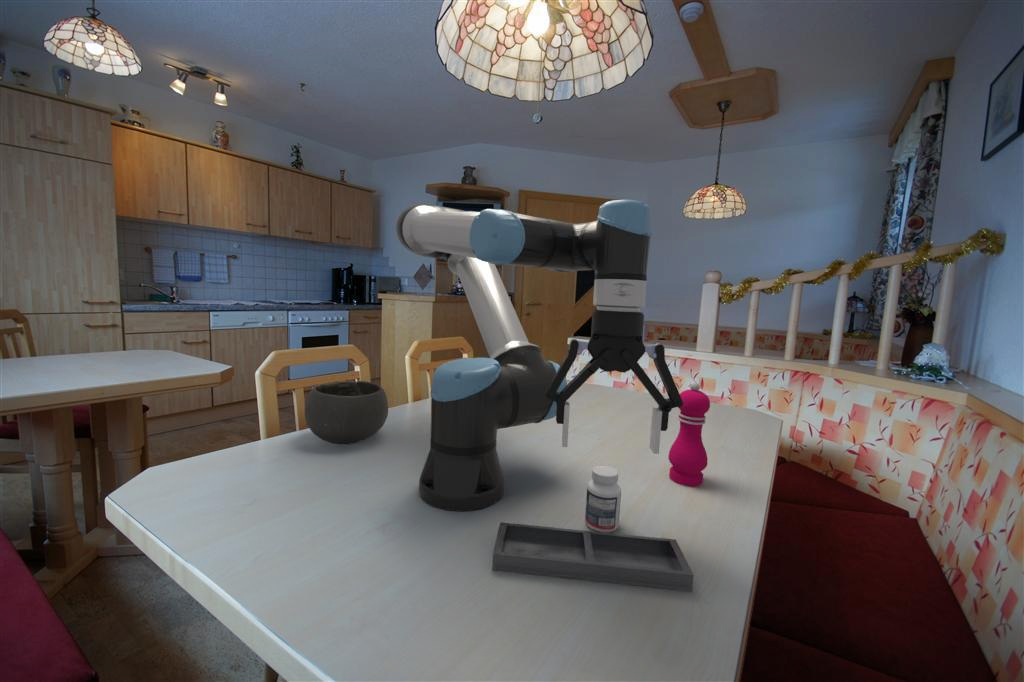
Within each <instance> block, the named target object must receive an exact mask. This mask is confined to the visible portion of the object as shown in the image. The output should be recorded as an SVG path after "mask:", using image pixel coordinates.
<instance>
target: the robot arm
mask: <svg viewBox="0 0 1024 682" xmlns="http://www.w3.org/2000/svg"><path fill="white" fill-rule="evenodd" d="M651 221H652V210H651V207H650V206H649V204H647V203H646V202H644V201H640V200H634V199H617V200H610V201H606V202H605V203H602V204H601V205H600V206H599V209H598V215H597V220H595V221H589V222H582V223H581V222H580V223H571V222H566V221H560V220H555V219H550V218H549V219H548V218H543V217H536V216H533V215H532V216H531V215H528V214H521V213H518V212H512V211H511V210H507V209H494V208H486V209H482V210H480V211H473V210H462V209H457V208H451V207H447V206H446V207H445V206H439V205H435V204H428V203H427V204H426V203H419V204H413V205H411V206H408V207H406V208H405V209H404V210H402V212H400V214H399V215H398V218H397V220H396V222H395V233H396V236H397V239H398V241H399V243H400V244H401V245H402V246H403V248H405V249H406V250H407V251H408V252H411V253H412V254H415V255H417V256H421V257H427V258H431V259H432V258H433V259H441V260H442V259H444V260H445V261H446V264H447V268H448V269H449V271H450V272H451V273H452V274H454V275H456V276H458V277H459V280H460V282H461V285H462V288H463V291H464V293H465V296H466V299H467V300H468V304H469V307H470V308H471V311H472V314H473V317H474V320H475V321H476V324H477V327H478V329H479V332H480V334H481V337H482V341H483V342H484V345H485V348H486V351H487V354H488V356H489V357H473V358H472V357H466V358H465V357H464V358H459V359H454V360H449V361H447V362H444V363H442V364H440V365H439V366H438V367H437V368H436V369H435V370H434V372H433V375H432V382H431V390H430V397H431V399H430V400H431V402H430V404H431V405H430V409H431V410H430V444H429V445H430V447H429V451H428V454H427V457H426V460H425V463H424V465H423V468H422V471H421V473H420V477H419V481H418V482H419V484H418V493H419V497H420V498H421V499H422V500H423V501H424V502H426V503H427V504H429V505H431V506H432V507H435V508H439V509H441V510H448V511H471V510H472V511H473V510H479V509H482V508H486V507H489V506H491V505H493V504H495V503H497V502H498V501H499V500H501V498H502V497H503V496H504V491H505V476H504V473H503V469H502V465H501V462H500V458H499V455H498V451H497V437H498V435H497V434H498V430H500V429H507V428H512V427H517V426H523V425H529V424H539V423H542V422H543V421H547V420H551V419H554V418H555V421H556V424H559V425H562V437H561V443H562V444H561V445H562V447H563V448H568V442H569V441H568V439H569V425H570V424H569V423H570V407H571V406H570V401H569V400H570V398H571V397H572V396H573V395H574V394H575V393H576V392H577V391H578V390H579V389H580V388H581V387H582V385H584V383H586V381H588V379H590V377H591V376H592V375H594V374H595V373H596V372H598V371H599V369H600V370H602V371H604V372H607V373H608V372H609V373H610V372H614V371H615V372H617V373H624V374H625V373H627V372H629V371H632V373H634V375H635V376H636V378H637V379H638V380H639V382H640V383H641V385H642V386H643V387H644V388H645V389H646V390H647V392H648V393H649V394H650V396H651V397H652V399H653V400H654V401H655V402H656V404H657V405H658V406H652V412H651V426H650V437H649V449H650V450H651V451H652V453H653V454H655V455H656V454H657V455H659V454H660V442H661V432H666V431H667V430H668V427H669V418H670V417H669V415H670V414H669V413H670V412H672V409H675V408H678V407H682V406H683V401H682V399H681V396H680V392H679V389H678V387H677V385H676V383H675V380H674V378H673V376H672V373H671V371H670V368H669V366H668V364H667V361H666V356H665V353H666V351H665V350H666V349H665V346H664V345H663V344H661V343H658V342H655V343H653V344H644V342H643V341H644V340H643V338H644V336H643V335H644V324H645V314H644V312H642V311H641V309H644V308H645V307H646V296H647V295H646V293H647V280H648V279H647V278H648V277H647V276H648V275H647V273H648V272H647V271H648V262H649V254H650V253H649V252H650V245H651V237H652V232H651V228H652V227H651V226H652V225H651V223H652V222H651ZM496 265H501V266H503V265H507V266H518V267H519V266H520V267H531V268H532V267H533V268H536V269H537V268H540V269H547V270H550V271H552V272H559V273H560V272H561V273H562V272H563V273H570V272H579V271H594V281H593V282H594V283H593V285H594V286H593V301H592V305H593V306H594V307H596V308H595V310H593V312H592V313H591V314H592V315H591V316H592V317H591V330H590V331H591V332H590V333H591V334H590V339H589V340H588V341H581V340H578V339H575V338H572V339H570V342H569V346H568V351H567V354H566V355H565V357H564V358H563V361H562V362H561V363H560V365H559V364H558V363H556V362H554V361H551V360H546V359H545V357H544V355H543V353H542V349H540V346H539V345H537V344H533V343H530V342H529V339H528V337H527V335H526V333H525V330H524V328H523V326H522V324H521V321H520V319H519V317H518V314H517V312H516V310H515V308H514V305H513V303H512V301H511V299H510V297H509V294H508V292H507V289H506V287H505V285H504V283H503V281H502V278H501V276H500V273H499V271H498V269H497V266H496ZM585 350H587V351H588V353H589V354H590V356H591V359H590V360H589V361H588V362H587V363H586V365H585V366H584V367H583V368H582V369H581V370H580V371H579V372H578V373H577V374H576V375H575V376H574V377H573V378H572V379H571V380H570V381H569V382H568V381H567V377H566V376H567V374H568V372H570V369H571V367H572V366H573V364H574V363H575V361H576V360H577V359H576V358H577V356H581V355H582V354H583V352H584V351H585ZM645 353H646V354H647V356H648V357H649V358H650V360H651V359H652V360H653V361H652V362H653V363H654V365H655V367H656V370H657V372H658V376H659V377H660V380H661V382H662V384H663V387H664V389H665V392H666V394H667V398H665V397H664V396H663V394H662V393H661V391H660V389H658V388H657V387H656V385H655V383H654V382H653V381H652V380H651V379H650V377H649V375H647V373H646V372H645V371H644V369H643V368H642V366H641V365H640V364H639V360H641V358H642V357H643V356H644V354H645Z"/></svg>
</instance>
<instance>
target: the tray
mask: <svg viewBox="0 0 1024 682" xmlns="http://www.w3.org/2000/svg"><path fill="white" fill-rule="evenodd" d="M687 561H688V560H687V559H686V557H685V555H684V553H683V551H682V549H681V547H680V545H679V543H678V542H677V539H673V538H664V537H655V536H654V537H653V536H644V535H643V536H642V535H634V534H626V533H625V534H623V533H614V532H613V533H612V532H599V531H595V530H593V531H592V530H584V529H582V530H581V529H572V528H562V527H553V526H552V527H551V526H543V525H534V524H533V525H532V524H523V523H510V522H503V521H502V522H501V521H500V522H499V526H498V529H497V535H496V539H495V544H494V547H493V552H492V564H491V565H492V569H491V570H492V571H500V572H509V573H510V572H511V573H519V574H529V575H537V576H546V577H554V578H555V577H557V578H562V579H563V578H564V579H573V580H582V581H592V582H599V583H600V582H602V583H610V584H617V585H618V584H620V585H629V586H637V587H647V588H656V589H657V588H658V589H665V590H675V591H682V592H683V591H685V592H693V583H694V577H695V575H694V573H693V571H692V569H691V567H690V565H689V563H688V562H687Z"/></svg>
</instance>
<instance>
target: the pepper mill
mask: <svg viewBox="0 0 1024 682" xmlns="http://www.w3.org/2000/svg"><path fill="white" fill-rule="evenodd" d="M689 388H690V389H685V390H683V391H681V392H679V394H680V396H681V399H682V401H683V406H682V407H677V408H678V409H679V412H678V413H677V414H678V417H677V420H678V421H679V426H680V427H679V430H678V434H677V436H676V438H675V440H674V442H673V443H672V445H671V447H670V448H669V452H668V461H669V463H670V465H671V467H670V468H669V474H668V476H669V478H670V480H671V481H673V482H675V483H676V484H679V485H681V486H685V487H686V486H687V487H700V486H702V484H703V481H704V473H703V472H702V471H704V470H705V469H706V468H707V466H708V455H707V451H706V448H705V446H704V442H703V439H702V430H703V425H705V424H706V419H707V417H706V415H705V414H707V412H709V410H710V408H711V401H710V399H709V396H708V395H707V394H706V393H705V392H703V391H701V390H700V389H701V386H700V384H699V383H698V382H695V381H693V382H692V383H690V385H689Z"/></svg>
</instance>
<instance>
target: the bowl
mask: <svg viewBox="0 0 1024 682" xmlns="http://www.w3.org/2000/svg"><path fill="white" fill-rule="evenodd" d="M388 403H389V402H388V397H387V394H386V391H385V389H384V387H382V386H381V385H380V384H378V383H374V382H370V381H364V380H356V381H355V380H342V381H334V382H328V383H325V382H324V383H319V384H317V385H314V386H313V387H312V389H311V390H310V391H309V393H308V396H307V397H306V401H305V404H304V418H305V422H306V425H307V426H308V428H309V430H310V431H311V432H312V433H313V435H315V436H316V437H317V438H319V439H320V440H322V441H325V442H327V443H330V444H333V445H341V446H342V445H345V446H346V445H354V444H357V443H360V442H364V441H365V440H367V439H369V438H371V437H372V436H374V435H375V434H377V433H378V432H379V431H380V430H381V428H383V426H384V425H385V422H386V421H387V418H388V417H389V416H388V415H389V404H388Z"/></svg>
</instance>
